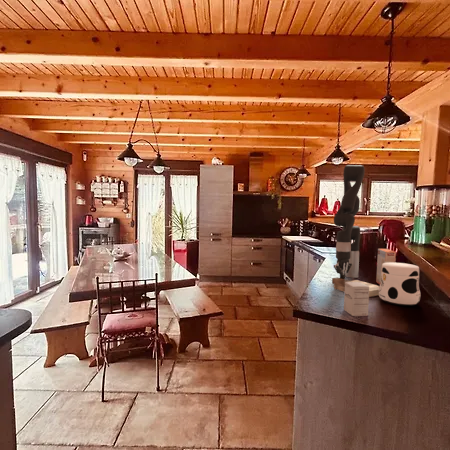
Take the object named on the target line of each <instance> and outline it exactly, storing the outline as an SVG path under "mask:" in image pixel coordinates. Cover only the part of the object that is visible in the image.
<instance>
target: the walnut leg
mask: <svg viewBox="0 0 450 450" xmlns="http://www.w3.org/2000/svg"><path fill="white" fill-rule="evenodd" d="M331 279H332V280H331V284H333V285H334V284H335V285H339V286H342V287H345V282H353V281H354V280H348V279H346V278H345V279H341V278H340V277H339V276H338V277H332V278H331Z"/></svg>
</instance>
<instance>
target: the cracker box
mask: <svg viewBox="0 0 450 450" xmlns="http://www.w3.org/2000/svg"><path fill="white" fill-rule="evenodd" d="M396 256H397V252H396V251H394V250H391V249H389V248H377V262H376V263H377V264H376V278H375V279H376V283H377V284H378V286H380V283H381V272H382V264H383V263H397V262H396V260H397V257H396Z"/></svg>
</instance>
